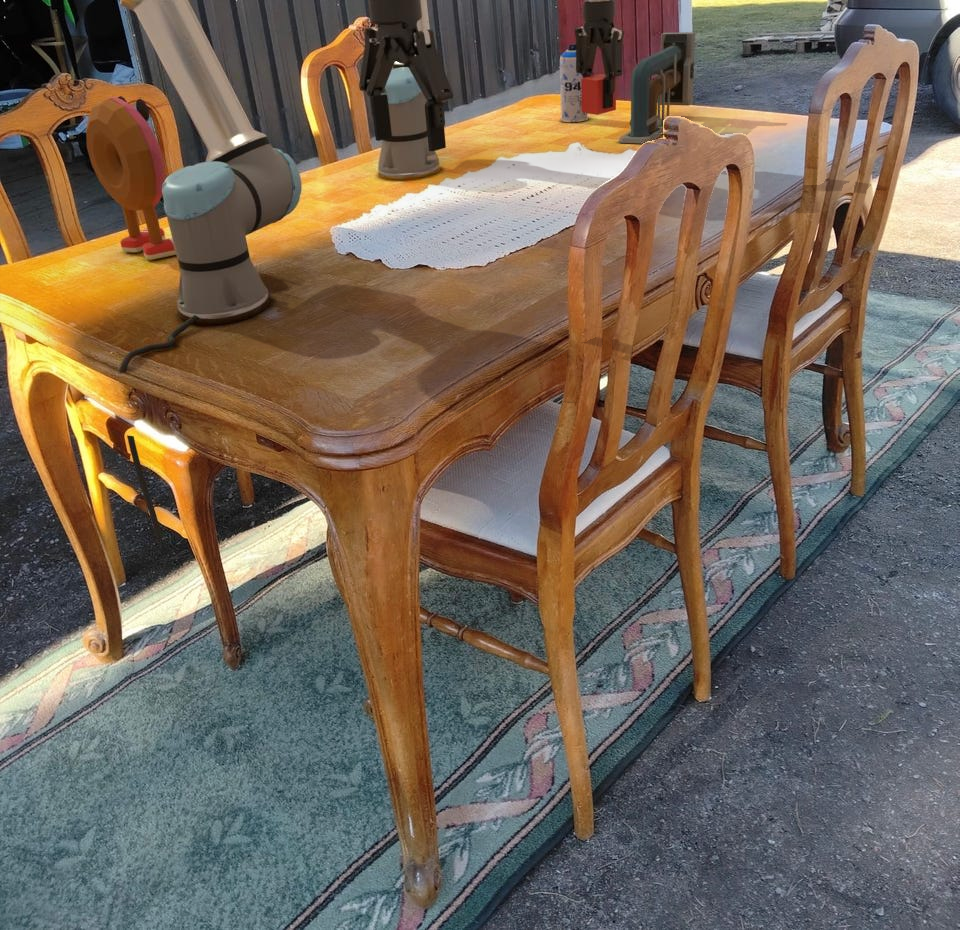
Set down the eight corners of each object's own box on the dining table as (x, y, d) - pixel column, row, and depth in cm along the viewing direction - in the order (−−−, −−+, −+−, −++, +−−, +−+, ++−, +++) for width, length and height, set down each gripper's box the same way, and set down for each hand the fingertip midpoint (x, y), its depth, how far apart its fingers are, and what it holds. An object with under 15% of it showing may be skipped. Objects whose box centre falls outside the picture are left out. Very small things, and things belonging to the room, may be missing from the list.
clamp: (648, 143, 245) (650, 53, 235) (616, 142, 249) (616, 53, 239) (692, 114, 271) (695, 32, 260) (662, 113, 275) (663, 32, 264)
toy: (206, 251, 195) (170, 95, 179) (161, 266, 188) (121, 105, 173) (151, 235, 208) (114, 87, 192) (108, 248, 202) (66, 97, 186)
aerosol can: (559, 122, 275) (557, 47, 265) (562, 117, 282) (559, 42, 272) (587, 121, 274) (585, 45, 263) (589, 115, 280) (587, 41, 270)
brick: (616, 110, 233) (616, 75, 229) (597, 115, 229) (597, 80, 225) (600, 107, 236) (600, 74, 232) (581, 112, 233) (581, 78, 229)
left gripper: (469, -10, 132) (481, 148, 143) (364, -12, 149) (382, 130, 160) (426, -4, 128) (442, 159, 139) (324, -6, 145) (344, 139, 156)
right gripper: (640, -2, 216) (638, 107, 228) (581, -4, 228) (581, 99, 240) (618, 2, 212) (616, 113, 224) (558, 0, 224) (560, 105, 236)
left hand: (409, 144), depth 149 cm, fingers open, 13 cm apart
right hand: (598, 106), depth 232 cm, fingers closed on brick, 5 cm apart
